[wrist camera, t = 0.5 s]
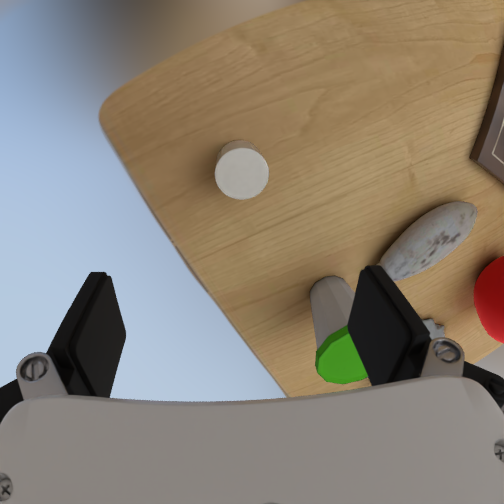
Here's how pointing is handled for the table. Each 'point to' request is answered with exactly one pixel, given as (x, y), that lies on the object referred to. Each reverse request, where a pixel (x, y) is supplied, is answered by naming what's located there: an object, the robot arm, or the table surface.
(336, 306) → the cup
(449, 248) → the decorative stone
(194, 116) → the table surface
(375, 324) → the robot arm
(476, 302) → the tomato
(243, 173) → the white canister
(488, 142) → the board
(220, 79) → the table surface
